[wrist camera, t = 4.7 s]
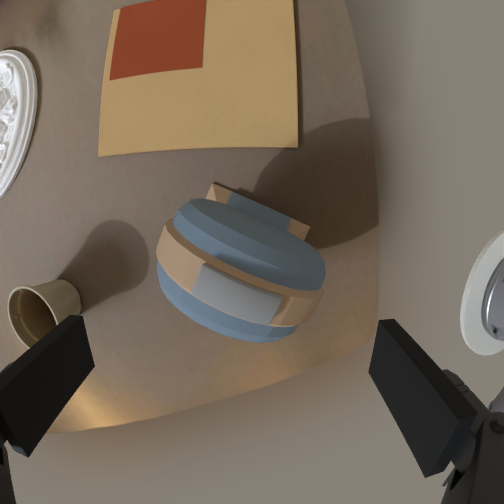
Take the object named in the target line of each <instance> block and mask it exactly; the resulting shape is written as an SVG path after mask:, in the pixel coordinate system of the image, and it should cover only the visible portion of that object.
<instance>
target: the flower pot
mask: <svg viewBox="0 0 504 504" xmlns="http://www.w3.org/2000/svg"><path fill="white" fill-rule="evenodd" d="M80 312H81V302H80V296H79V293H78V291H77V290H76V288H75V287H74V286H73V285H72V284H71V283H70V282H68V281H66V280H61V279H57V280H54V281H51V282H47V283H44V284H41V285H37V286H25V285H22V286H18V287H16V288H14V289H13V290H12V291H11V293H10V295H9V298H8V316H9V320H10V323H11V325H12V327H13V330H14V332H15V333H16V335H17V336H18V338H19V339H20V340H21V342H22V343H23V344H24V345H25V346H26V347H27V348H28V349H29V348H31V347H32V346H33V345H34V344H35V343H36V342H38V341H39V340H40V339H41V338H42V337H43V336H45V335H46V334H47V333H48V332H49V331H51V330H52V329H53V328H54V327H55V326H57V325H58V324H59V323H60V322H61V321H63V320H64V319H65V318H66V317H67V316H69V315H79V314H80Z"/></svg>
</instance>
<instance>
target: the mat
mask: <svg viewBox="0 0 504 504" xmlns="http://www.w3.org/2000/svg"><path fill="white" fill-rule="evenodd" d="M236 147H266V148H298V97H297V65H296V42H295V23H294V7H293V0H155V1H149V2H144V3H140V4H135V5H131V6H126V7H122V8H121V9H117V10H115V11H114V16H113V21H112V26H111V31H110V36H109V42H108V48H107V55H106V62H105V69H104V78H103V87H102V97H101V110H100V126H99V157H104V156H112V155H121V154H130V153H140V152H152V151H165V150H180V149H199V148H236Z"/></svg>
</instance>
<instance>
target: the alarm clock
mask: <svg viewBox="0 0 504 504" xmlns="http://www.w3.org/2000/svg"><path fill="white" fill-rule="evenodd" d="M309 229H310V226H308V225H306V224H303V223H301V222H299V221H297V220H295V219H293V218H291V217H288V216H286V215H284V214H282V213H280V212H277V211H275V210H273V209H271V208H269V207H266V206H264V205H262V204H260V203H257V202H255V201H253V200H251V199H248V198H246V197H244V196H242V195H239V194H237V193H235V192H232V191H230V190H228V189H225V188H223V187H221V186H218V185H216V184H214V183H212V185H211V187H210V190H209V192H208V194H207V197H206V199H192V200H190V201H188V202H187V203H186V204H184V205H183V206H182V207H181V208H180V209H179V210H178V212H177V213H176V215H175V217H174V218H173V219H170V220H168V222H167V223H166V224H165V226H164V229H163V232H162V234H161V237H160V240H159V242H158V245H157V248H156V254H157V259H158V264H157V273H158V278H159V282H160V286H161V289H162V290H163V292H164V294H165V295H166V297H167V298H168V300H169V301H170V302H171V303H172V304H174V305H175V306H176V307H177V308H178V309H179V310H180V311H181V312H182V313H184V314H185V315H187V316H188V317H190V318H191V319H193V320H194V321H196V322H197V323H199V324H201V325H203V326H205V327H207V328H209V329H211V330H213V331H215V332H217V333H220V334H223V335H226V336H229V337H232V338H235V339H238V340H244V341H250V342H256V343H263V342H274V341H277V340H279V339H282V338H284V337H286V336H288V335H290V334H292V333H293V332H294V331H295V330H296V328H297V327H298V326H299V325H300V324H303V323H306V322H307V321H308V320H309V318H310V317H311V315H312V313H313V312H314V310H315V308H316V306H317V304H318V302H319V301H320V299H321V297H322V295H323V293H324V292H323V289H322V287H321V286H322V283H323V280H324V277H325V274H326V273H325V262H324V260H323V258H322V256H321V255H320V254H319V252H318V251H317V250H316V249H315V248H314V247H312V246H311V245H310V244H308V243H307V242H305V241H304V240H305V237H306V235H307V233H308V231H309Z"/></svg>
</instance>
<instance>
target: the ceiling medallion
mask: <svg viewBox="0 0 504 504" xmlns="http://www.w3.org/2000/svg"><path fill="white" fill-rule="evenodd" d="M37 99H38V87H37V78H36V73H35V70H34V67H33V65H32V63H31V61H30V60H29V58H28V57H27V56H26V55H24V54H23V53H21V52H19V51H16V50H5V51H1V52H0V199H1V198H2V197H3V196H4V195H5V194H6V192H7V191H8V189H9V188H10V187H11V185H12V183H13V182H14V180H15V178H16V176H17V174H18V172H19V170H20V168H21V166H22V163H23V161H24V158H25V156H26V153H27V150H28V147H29V143H30V140H31V136H32V132H33V128H34V123H35V117H36V110H37Z"/></svg>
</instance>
